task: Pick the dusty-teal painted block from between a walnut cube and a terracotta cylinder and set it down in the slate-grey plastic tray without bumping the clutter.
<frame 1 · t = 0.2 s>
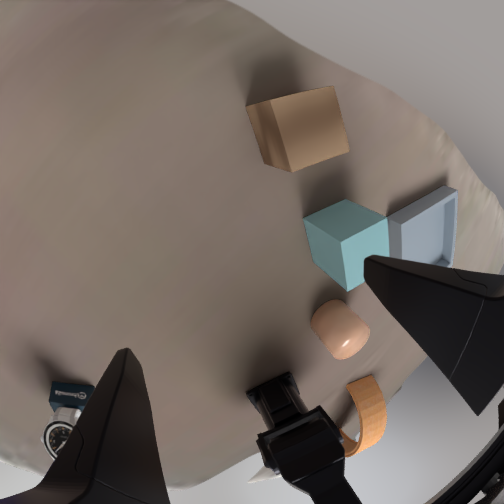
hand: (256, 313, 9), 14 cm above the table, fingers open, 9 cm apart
teal block: (329, 230, 27), on the table
watch: (76, 393, 25), on the table
tray: (419, 241, 33), on the table
walnut cube: (282, 126, 21), on the table
arch: (342, 409, 46), on the table
terracotta cylinder: (328, 316, 32), on the table
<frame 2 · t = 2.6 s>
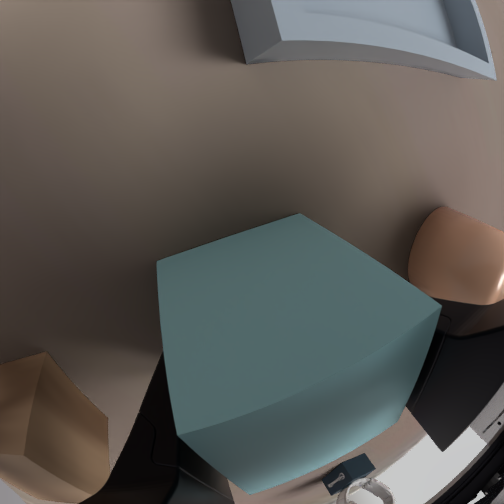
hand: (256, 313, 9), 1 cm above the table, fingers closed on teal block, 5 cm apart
teal block: (246, 297, 10), on the table, touching gripper
watch: (341, 466, 27), on the table
walnut cube: (43, 395, 9), on the table
terracotta cylinder: (434, 248, 13), on the table
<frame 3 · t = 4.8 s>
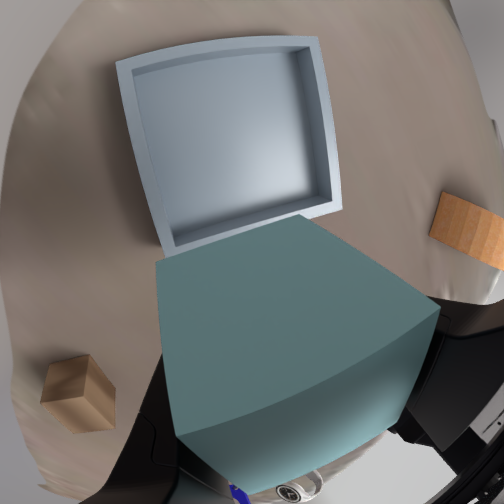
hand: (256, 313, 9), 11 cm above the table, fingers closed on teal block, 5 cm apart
teal block: (246, 297, 10), point 10 cm above the table, touching gripper
watch: (282, 451, 39), on the table
cable clip: (215, 490, 41), on the table
tray: (233, 135, 17), on the table
walnut cube: (82, 376, 21), on the table
arch: (463, 225, 31), on the table
when the fingers open (3 cm above the table, at t = 7.1 s): teal block drops 1 cm, resting on tray.
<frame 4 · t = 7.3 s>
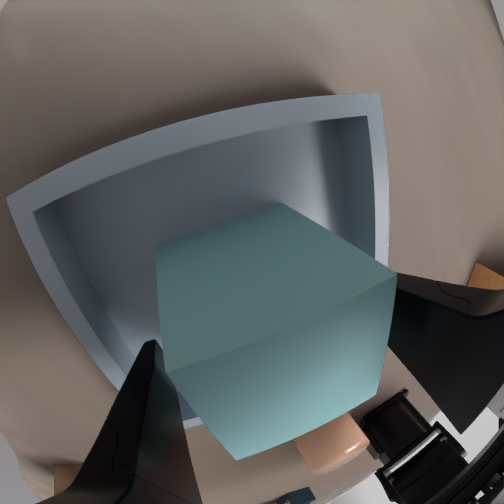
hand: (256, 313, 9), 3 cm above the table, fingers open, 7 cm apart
teal block: (236, 279, 11), point 1 cm above the table, touching tray
watch: (291, 494, 34), on the table
tray: (232, 272, 12), on the table
walnut cube: (89, 474, 15), on the table
arch: (490, 279, 25), on the table
terracotta cylinder: (313, 415, 20), on the table
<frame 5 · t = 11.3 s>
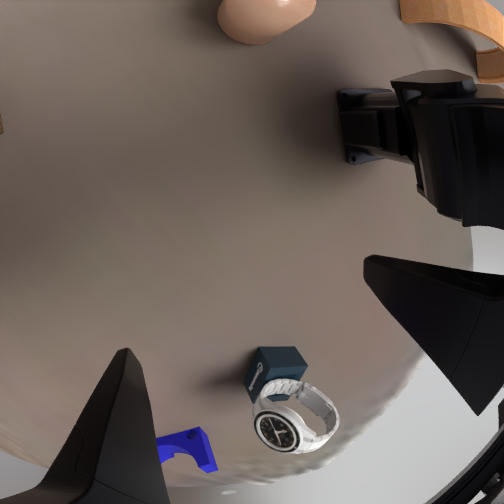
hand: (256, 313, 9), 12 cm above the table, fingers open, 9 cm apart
watch: (267, 364, 28), on the table
cable clip: (165, 441, 30), on the table
arch: (446, 38, 20), on the table
terracotta cylinder: (250, 17, 14), on the table
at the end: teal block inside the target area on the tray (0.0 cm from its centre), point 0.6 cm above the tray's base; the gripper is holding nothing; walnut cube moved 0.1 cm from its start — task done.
